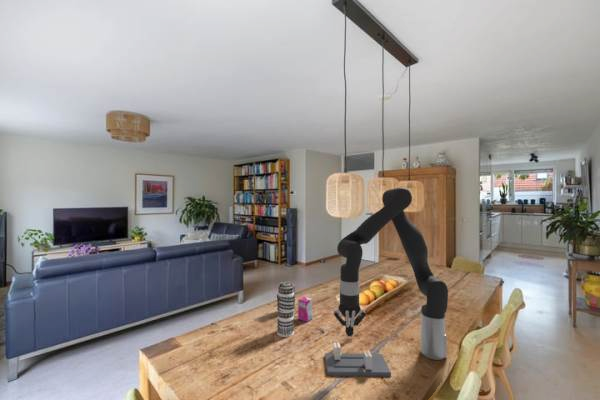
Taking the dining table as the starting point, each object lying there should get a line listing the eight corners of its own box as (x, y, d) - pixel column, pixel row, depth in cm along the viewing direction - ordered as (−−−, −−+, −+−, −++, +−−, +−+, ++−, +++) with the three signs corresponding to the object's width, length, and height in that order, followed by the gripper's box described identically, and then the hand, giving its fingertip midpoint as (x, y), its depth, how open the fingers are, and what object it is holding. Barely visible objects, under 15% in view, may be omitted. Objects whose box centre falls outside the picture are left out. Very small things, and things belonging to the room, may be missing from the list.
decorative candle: (273, 335, 131) (273, 284, 131) (281, 327, 139) (281, 279, 139) (290, 339, 128) (291, 286, 128) (297, 330, 136) (297, 281, 136)
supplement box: (304, 316, 153) (304, 296, 153) (312, 319, 149) (312, 298, 149) (297, 319, 148) (297, 299, 148) (306, 322, 144) (306, 301, 144)
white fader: (339, 354, 112) (339, 341, 112) (340, 359, 108) (340, 347, 108) (333, 354, 112) (333, 341, 112) (334, 359, 108) (334, 347, 108)
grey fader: (369, 363, 106) (369, 350, 106) (372, 369, 102) (372, 356, 102) (363, 363, 106) (363, 350, 106) (365, 369, 102) (365, 356, 102)
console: (381, 357, 113) (381, 353, 113) (391, 376, 101) (391, 372, 101) (325, 356, 113) (325, 353, 113) (327, 375, 101) (327, 371, 101)
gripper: (364, 288, 108) (364, 330, 108) (331, 288, 108) (331, 330, 108) (368, 294, 101) (368, 340, 101) (333, 294, 101) (333, 340, 101)
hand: (349, 335), depth 105 cm, fingers closed
